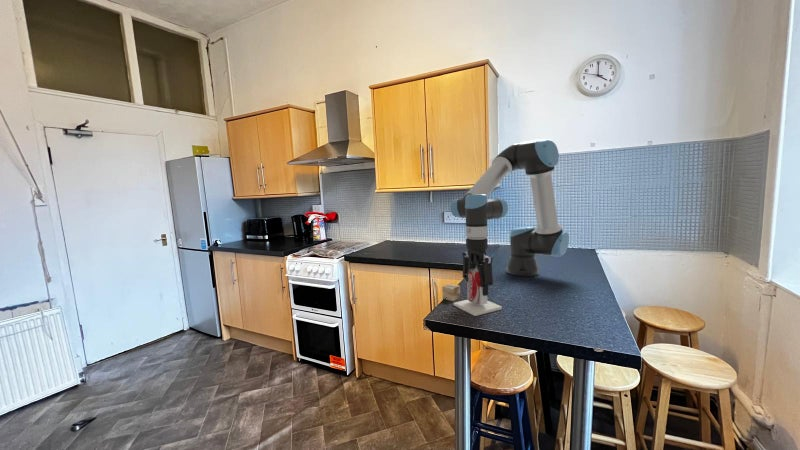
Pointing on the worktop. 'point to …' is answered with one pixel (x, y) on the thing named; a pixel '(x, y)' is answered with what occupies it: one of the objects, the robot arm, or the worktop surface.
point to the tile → (477, 307)
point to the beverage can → (474, 286)
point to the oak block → (451, 292)
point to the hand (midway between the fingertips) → (477, 300)
